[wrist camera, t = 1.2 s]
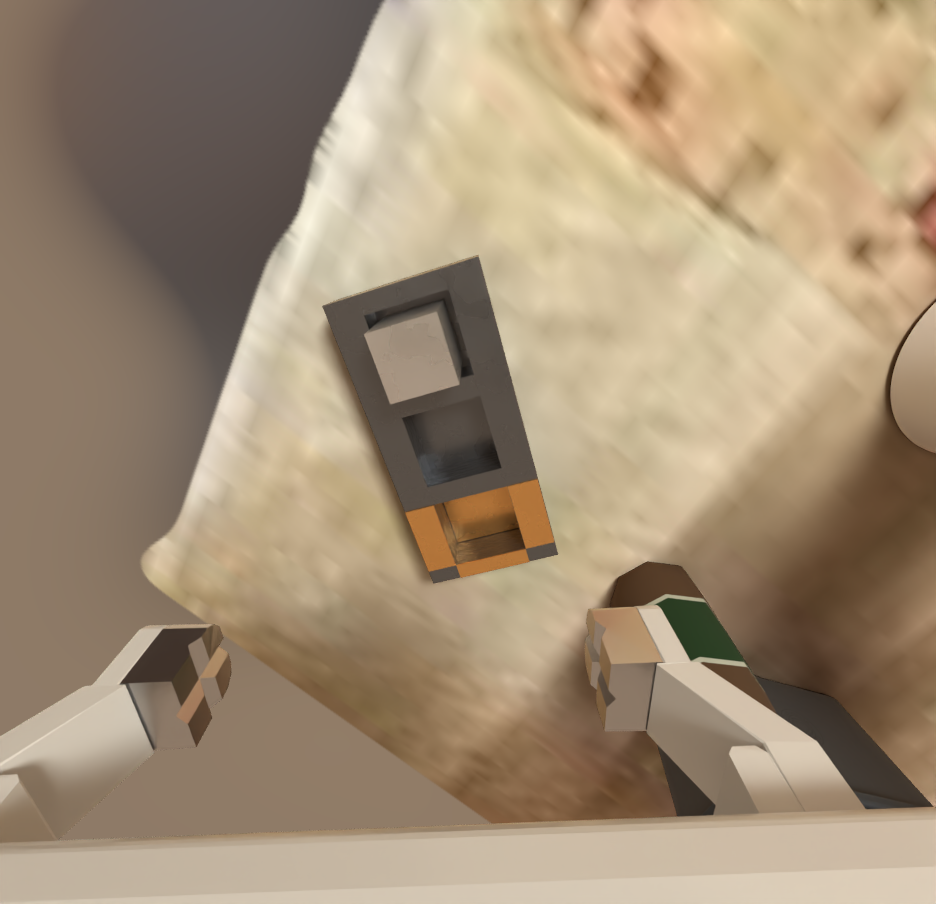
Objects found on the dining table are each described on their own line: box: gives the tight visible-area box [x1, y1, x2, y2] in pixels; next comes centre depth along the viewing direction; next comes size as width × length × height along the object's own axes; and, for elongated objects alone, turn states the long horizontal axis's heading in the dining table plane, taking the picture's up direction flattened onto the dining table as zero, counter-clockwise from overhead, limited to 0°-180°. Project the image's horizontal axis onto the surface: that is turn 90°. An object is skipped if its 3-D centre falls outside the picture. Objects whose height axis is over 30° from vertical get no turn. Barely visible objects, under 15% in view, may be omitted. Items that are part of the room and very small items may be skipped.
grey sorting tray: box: [323, 255, 558, 583], centre depth 35 cm, size 10×22×4 cm, turn 17°
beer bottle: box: [610, 562, 777, 714], centre depth 32 cm, size 8×8×24 cm
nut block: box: [364, 298, 462, 404], centre depth 30 cm, size 4×4×7 cm
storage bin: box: [658, 676, 933, 817], centre depth 42 cm, size 21×16×14 cm
